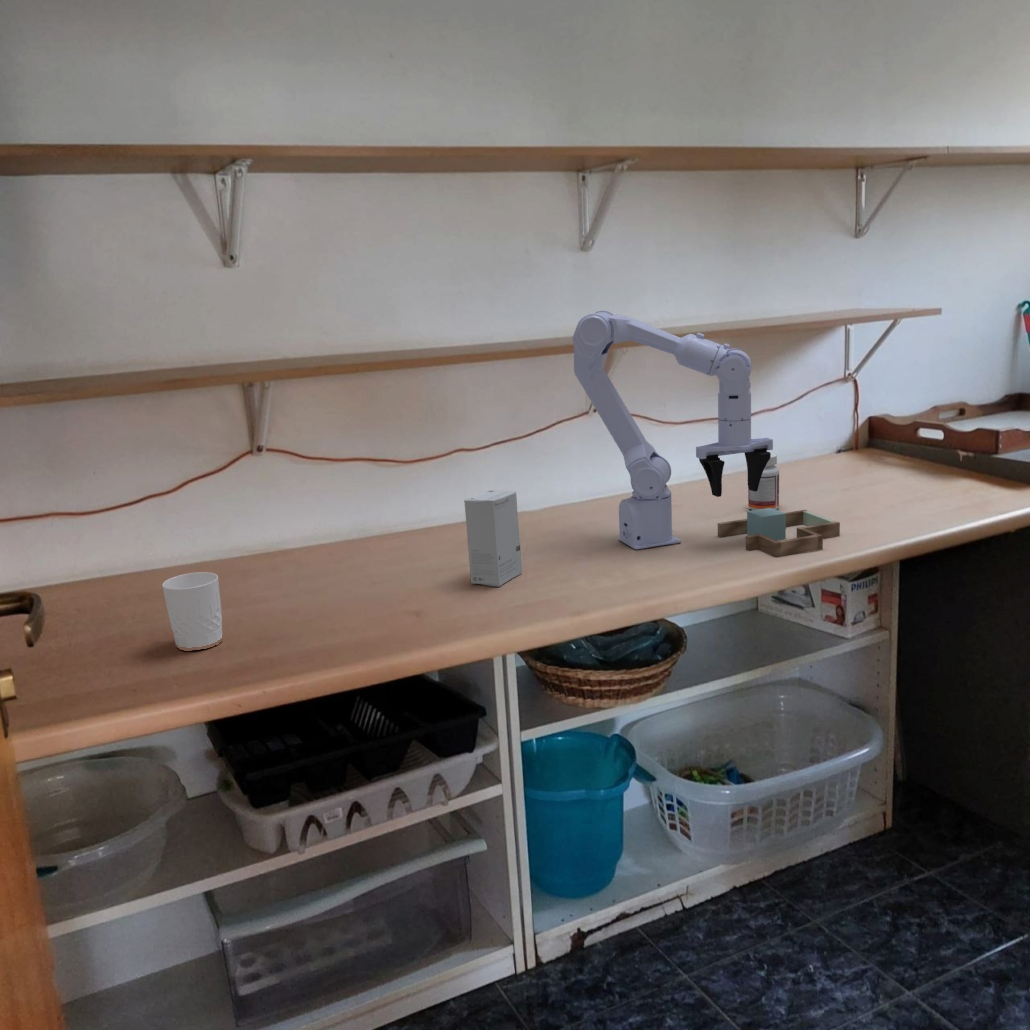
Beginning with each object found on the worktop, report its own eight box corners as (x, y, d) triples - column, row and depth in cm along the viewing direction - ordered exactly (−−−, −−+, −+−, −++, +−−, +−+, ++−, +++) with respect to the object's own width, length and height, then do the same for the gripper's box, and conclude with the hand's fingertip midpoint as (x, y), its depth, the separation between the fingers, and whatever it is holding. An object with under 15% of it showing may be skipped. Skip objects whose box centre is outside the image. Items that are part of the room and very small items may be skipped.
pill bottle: (760, 503, 205) (760, 450, 202) (785, 508, 200) (785, 454, 197) (742, 509, 201) (741, 455, 198) (766, 514, 196) (766, 459, 193)
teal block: (761, 543, 177) (761, 517, 176) (747, 537, 182) (747, 511, 180) (785, 539, 178) (785, 513, 177) (770, 533, 183) (770, 507, 182)
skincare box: (499, 588, 162) (493, 501, 158) (468, 584, 165) (462, 499, 161) (523, 573, 169) (518, 489, 165) (493, 569, 172) (488, 487, 168)
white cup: (232, 632, 149) (224, 570, 147) (219, 651, 142) (209, 586, 139) (181, 635, 149) (171, 573, 147) (165, 655, 141) (154, 590, 139)
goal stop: (831, 535, 179) (831, 522, 178) (803, 524, 187) (803, 511, 187) (836, 534, 179) (836, 521, 179) (807, 523, 188) (807, 510, 187)
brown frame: (765, 558, 168) (765, 544, 167) (717, 535, 183) (717, 523, 183) (858, 543, 173) (859, 529, 173) (804, 522, 189) (804, 509, 188)
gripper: (709, 426, 167) (710, 502, 170) (782, 417, 171) (782, 492, 174) (689, 420, 173) (691, 494, 177) (760, 412, 177) (760, 484, 181)
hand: (734, 493), depth 176 cm, fingers open, 7 cm apart
